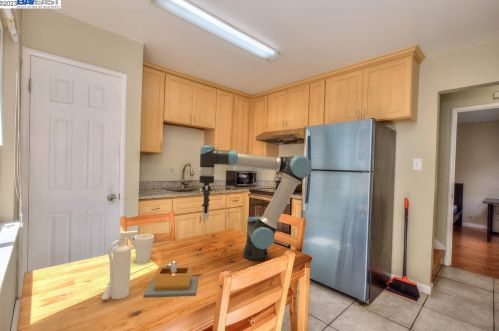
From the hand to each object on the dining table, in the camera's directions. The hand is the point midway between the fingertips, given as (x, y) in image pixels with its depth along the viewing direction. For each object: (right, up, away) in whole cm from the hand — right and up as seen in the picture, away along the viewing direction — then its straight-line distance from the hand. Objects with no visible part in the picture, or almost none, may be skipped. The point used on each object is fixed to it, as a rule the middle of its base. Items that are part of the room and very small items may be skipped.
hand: (205, 216), depth 122 cm
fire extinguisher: (-29, -25, -30) cm, 48 cm away
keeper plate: (-10, -26, -22) cm, 35 cm away
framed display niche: (-10, -25, -21) cm, 34 cm away
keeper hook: (-11, -25, -22) cm, 35 cm away
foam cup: (-34, -25, +3) cm, 42 cm away
